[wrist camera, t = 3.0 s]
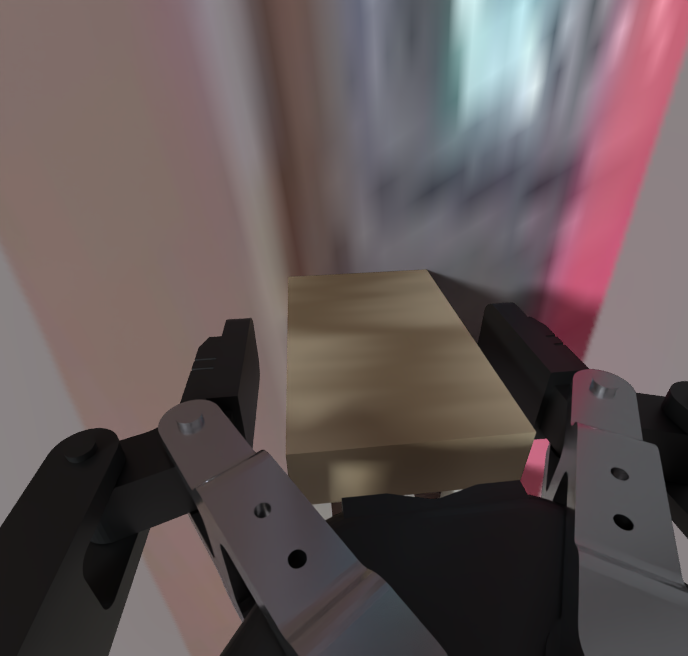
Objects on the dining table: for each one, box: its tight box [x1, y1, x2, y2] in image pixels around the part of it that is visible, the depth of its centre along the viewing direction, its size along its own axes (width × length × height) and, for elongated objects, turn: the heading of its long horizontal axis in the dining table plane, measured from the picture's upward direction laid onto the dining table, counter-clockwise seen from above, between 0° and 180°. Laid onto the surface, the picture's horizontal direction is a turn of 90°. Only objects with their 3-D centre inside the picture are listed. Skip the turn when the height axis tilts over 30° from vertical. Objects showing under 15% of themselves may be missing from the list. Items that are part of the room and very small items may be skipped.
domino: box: [286, 270, 536, 505], centre depth 12 cm, size 5×2×8 cm, turn 90°
